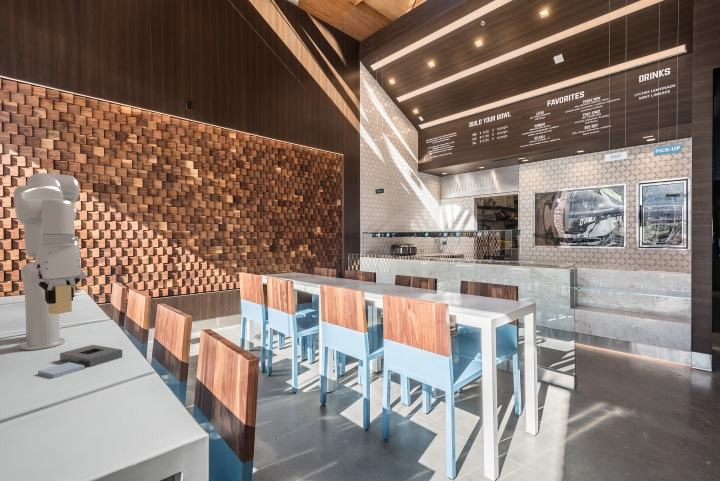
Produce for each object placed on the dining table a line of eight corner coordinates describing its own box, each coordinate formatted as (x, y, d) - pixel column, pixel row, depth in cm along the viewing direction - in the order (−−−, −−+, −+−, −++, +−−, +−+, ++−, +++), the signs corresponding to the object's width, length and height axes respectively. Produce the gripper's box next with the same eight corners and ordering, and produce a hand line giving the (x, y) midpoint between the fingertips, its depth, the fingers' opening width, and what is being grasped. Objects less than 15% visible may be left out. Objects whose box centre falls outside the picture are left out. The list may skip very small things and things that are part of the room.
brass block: (48, 313, 109) (47, 286, 109) (64, 310, 112) (63, 284, 112) (56, 314, 107) (55, 286, 107) (71, 311, 111) (71, 285, 111)
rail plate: (60, 360, 120) (59, 353, 120) (93, 351, 129) (92, 344, 129) (89, 366, 113) (89, 358, 113) (122, 357, 122) (122, 349, 122)
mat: (38, 374, 108) (38, 370, 108) (69, 365, 115) (69, 362, 115) (53, 377, 104) (53, 374, 104) (84, 368, 112) (84, 365, 112)
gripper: (81, 240, 119) (83, 297, 119) (16, 241, 103) (18, 306, 103) (96, 240, 115) (97, 298, 116) (30, 241, 100) (32, 308, 100)
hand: (59, 301), depth 110 cm, fingers closed on brass block, 4 cm apart
